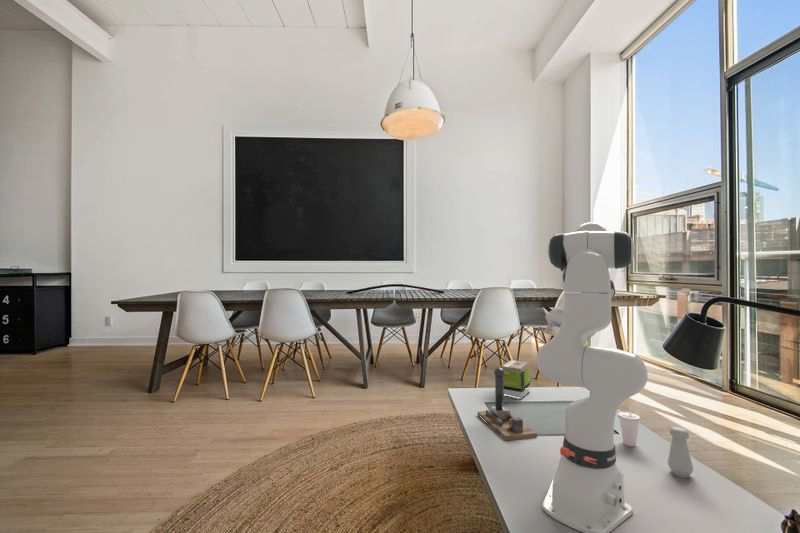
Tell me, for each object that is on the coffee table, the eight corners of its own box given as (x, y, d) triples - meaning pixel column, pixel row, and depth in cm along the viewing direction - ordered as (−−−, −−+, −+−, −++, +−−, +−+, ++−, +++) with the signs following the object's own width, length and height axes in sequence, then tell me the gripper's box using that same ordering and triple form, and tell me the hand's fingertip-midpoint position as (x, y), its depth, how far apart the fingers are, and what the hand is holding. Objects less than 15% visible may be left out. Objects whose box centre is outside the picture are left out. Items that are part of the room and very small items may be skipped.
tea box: (510, 388, 181) (510, 359, 181) (531, 391, 175) (530, 361, 175) (500, 396, 168) (500, 365, 169) (521, 400, 163) (521, 368, 163)
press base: (477, 415, 145) (477, 401, 145) (504, 412, 148) (503, 398, 148) (506, 440, 122) (506, 423, 123) (536, 437, 125) (536, 420, 125)
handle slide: (490, 414, 141) (490, 366, 141) (502, 413, 142) (502, 365, 143) (498, 420, 135) (497, 370, 136) (510, 419, 136) (509, 369, 137)
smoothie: (644, 449, 116) (643, 406, 117) (623, 447, 117) (622, 405, 118) (635, 440, 122) (634, 399, 123) (615, 438, 124) (614, 398, 124)
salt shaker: (694, 473, 102) (693, 428, 102) (692, 482, 97) (691, 434, 98) (669, 466, 106) (667, 422, 106) (666, 474, 101) (665, 428, 102)
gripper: (557, 300, 146) (533, 320, 143) (601, 314, 127) (575, 338, 124) (562, 311, 148) (539, 331, 145) (606, 327, 129) (581, 351, 126)
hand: (556, 335), depth 134 cm, fingers open, 8 cm apart
